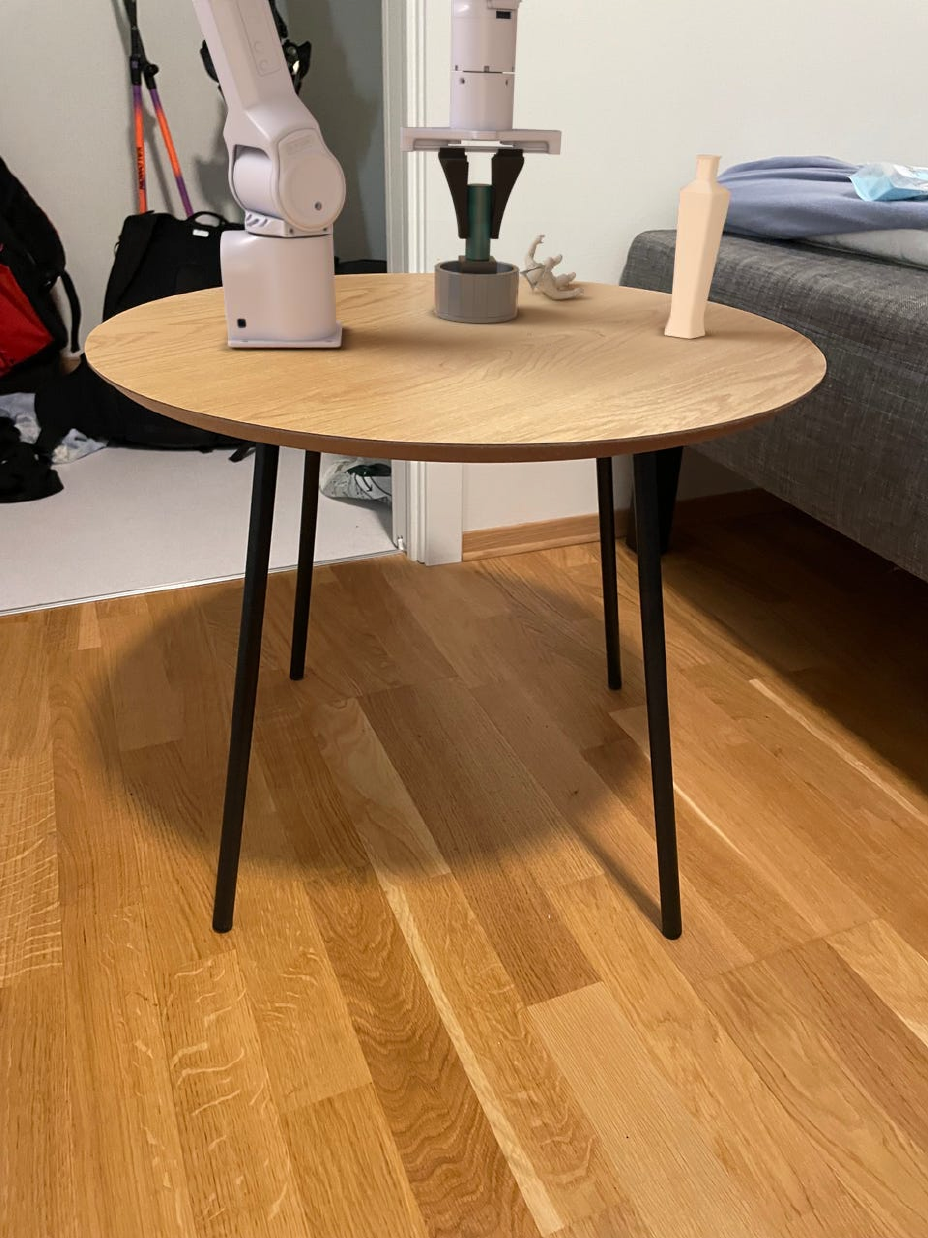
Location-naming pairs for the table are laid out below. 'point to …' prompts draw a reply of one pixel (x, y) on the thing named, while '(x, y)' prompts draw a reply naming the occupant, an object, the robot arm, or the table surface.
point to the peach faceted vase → (696, 247)
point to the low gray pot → (475, 293)
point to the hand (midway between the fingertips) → (477, 237)
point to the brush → (478, 232)
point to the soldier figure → (547, 274)
